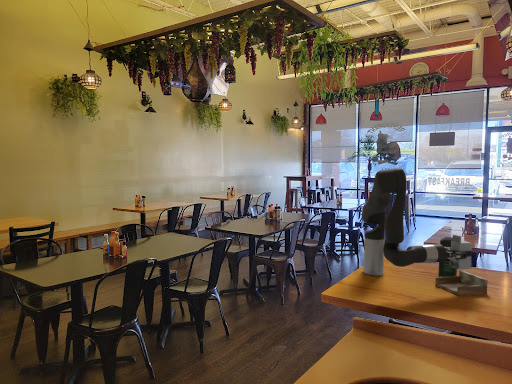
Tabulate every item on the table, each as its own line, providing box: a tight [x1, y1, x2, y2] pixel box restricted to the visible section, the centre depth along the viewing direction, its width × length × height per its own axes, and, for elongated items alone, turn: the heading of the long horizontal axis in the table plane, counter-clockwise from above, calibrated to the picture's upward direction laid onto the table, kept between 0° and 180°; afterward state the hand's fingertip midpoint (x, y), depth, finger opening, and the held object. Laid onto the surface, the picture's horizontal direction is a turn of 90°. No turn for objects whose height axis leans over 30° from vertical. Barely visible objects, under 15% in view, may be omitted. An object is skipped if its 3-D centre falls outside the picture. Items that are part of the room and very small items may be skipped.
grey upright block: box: [449, 234, 473, 271], centre depth 165 cm, size 5×7×14 cm
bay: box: [434, 269, 488, 297], centre depth 167 cm, size 14×13×6 cm
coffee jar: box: [437, 236, 458, 277], centre depth 185 cm, size 10×8×19 cm
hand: (466, 252), depth 166 cm, fingers closed on grey upright block, 5 cm apart
